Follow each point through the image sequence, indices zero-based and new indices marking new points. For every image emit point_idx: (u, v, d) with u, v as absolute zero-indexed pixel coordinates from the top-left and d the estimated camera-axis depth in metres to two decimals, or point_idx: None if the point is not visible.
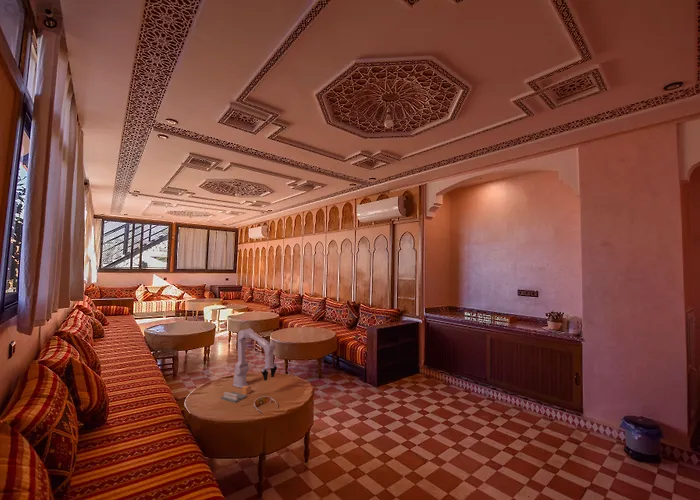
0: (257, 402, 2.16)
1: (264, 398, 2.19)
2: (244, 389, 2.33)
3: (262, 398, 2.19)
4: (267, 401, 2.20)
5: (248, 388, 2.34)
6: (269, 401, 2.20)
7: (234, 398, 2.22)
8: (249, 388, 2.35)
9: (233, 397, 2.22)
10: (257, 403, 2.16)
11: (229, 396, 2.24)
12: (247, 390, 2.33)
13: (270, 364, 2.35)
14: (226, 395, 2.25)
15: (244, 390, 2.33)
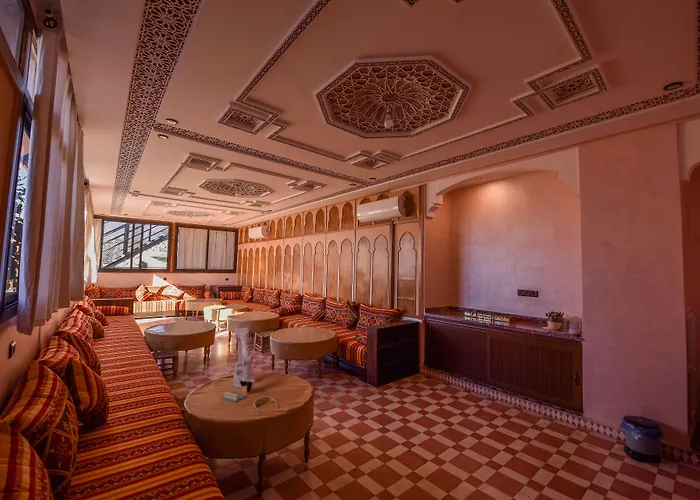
0: (257, 402, 2.16)
1: (264, 398, 2.19)
2: (244, 389, 2.33)
3: (262, 398, 2.18)
4: (267, 401, 2.20)
5: None
6: (269, 401, 2.20)
7: (234, 398, 2.22)
8: None
9: (233, 397, 2.22)
10: (257, 403, 2.16)
11: (229, 396, 2.24)
12: None
13: (242, 376, 2.34)
14: (226, 395, 2.25)
15: (244, 390, 2.33)
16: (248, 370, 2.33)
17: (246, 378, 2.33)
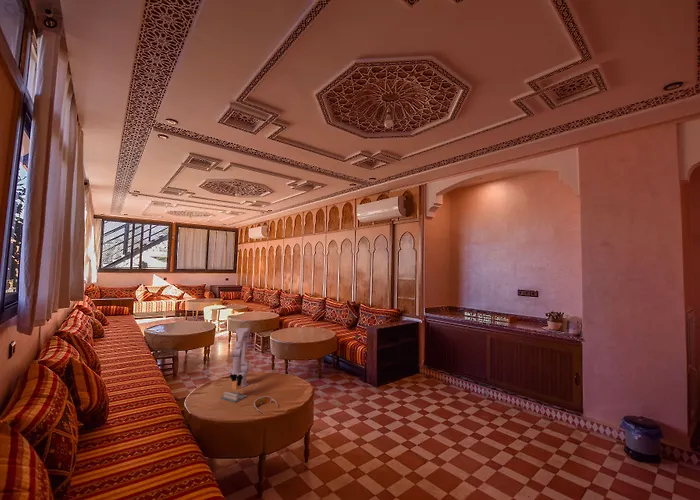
0: (257, 402, 2.16)
1: (264, 398, 2.19)
2: (234, 384, 2.27)
3: (262, 398, 2.18)
4: (267, 401, 2.19)
5: None
6: (269, 401, 2.20)
7: (234, 398, 2.22)
8: None
9: (233, 397, 2.22)
10: (257, 403, 2.16)
11: (229, 396, 2.24)
12: (237, 385, 2.27)
13: None
14: (226, 395, 2.25)
15: (234, 385, 2.27)
16: (237, 363, 2.27)
17: (236, 371, 2.27)
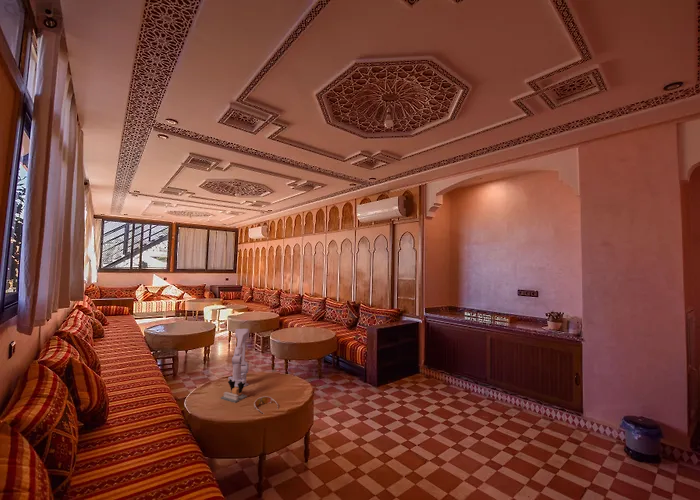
0: (257, 402, 2.15)
1: (264, 398, 2.19)
2: (234, 391, 2.27)
3: (262, 398, 2.18)
4: (267, 401, 2.19)
5: (238, 390, 2.28)
6: (269, 401, 2.19)
7: (234, 398, 2.22)
8: None
9: (233, 397, 2.22)
10: (257, 403, 2.15)
11: (229, 396, 2.24)
12: (237, 392, 2.27)
13: None
14: (226, 395, 2.25)
15: (234, 392, 2.27)
16: (236, 370, 2.27)
17: (236, 378, 2.27)
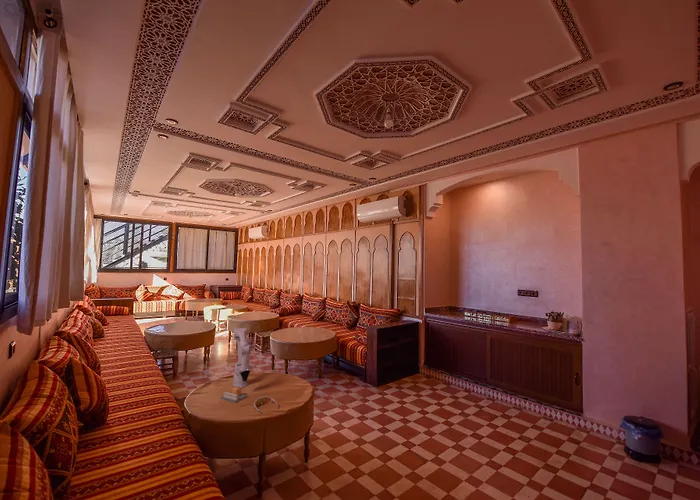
0: (257, 402, 2.15)
1: (264, 398, 2.19)
2: (234, 391, 2.27)
3: (262, 398, 2.18)
4: (267, 401, 2.19)
5: (238, 390, 2.28)
6: (269, 401, 2.19)
7: (234, 398, 2.22)
8: (239, 390, 2.29)
9: (233, 397, 2.22)
10: (257, 403, 2.15)
11: (229, 396, 2.24)
12: (237, 392, 2.27)
13: (246, 366, 2.34)
14: (226, 395, 2.25)
15: (234, 392, 2.27)
16: (246, 360, 2.35)
17: (249, 366, 2.37)
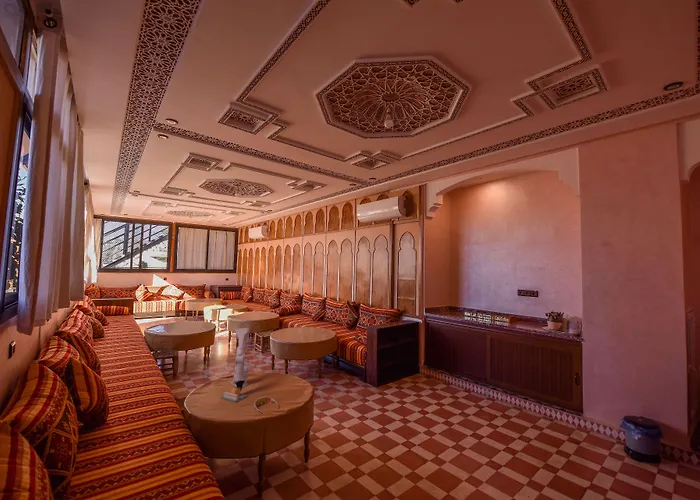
0: (257, 403, 2.15)
1: (264, 398, 2.19)
2: (233, 391, 2.26)
3: (262, 398, 2.18)
4: (267, 401, 2.19)
5: (237, 390, 2.27)
6: (269, 401, 2.19)
7: (234, 398, 2.22)
8: (238, 390, 2.28)
9: (233, 397, 2.22)
10: (257, 404, 2.15)
11: (229, 396, 2.24)
12: (236, 392, 2.26)
13: (240, 376, 2.30)
14: (226, 395, 2.25)
15: (233, 392, 2.26)
16: (240, 370, 2.29)
17: (243, 376, 2.33)
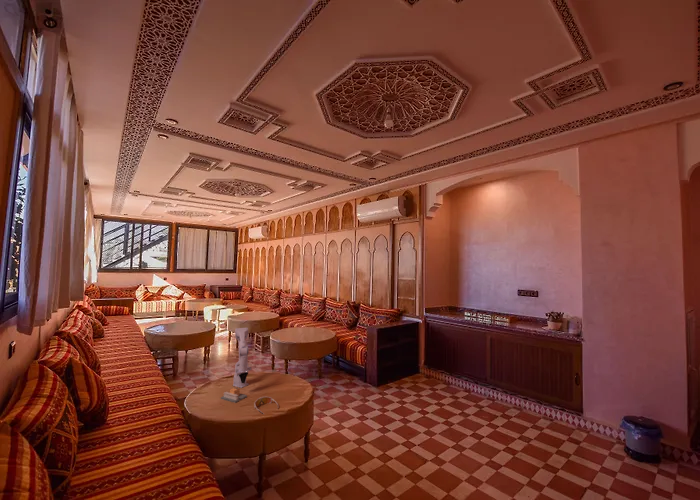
0: (257, 403, 2.15)
1: (264, 398, 2.19)
2: (232, 392, 2.25)
3: (262, 398, 2.18)
4: (267, 401, 2.19)
5: (236, 391, 2.27)
6: (269, 401, 2.19)
7: (234, 398, 2.22)
8: (237, 391, 2.27)
9: (233, 397, 2.22)
10: (257, 404, 2.15)
11: (229, 396, 2.24)
12: (235, 393, 2.26)
13: (244, 368, 2.33)
14: (226, 395, 2.25)
15: (232, 393, 2.25)
16: (244, 362, 2.33)
17: (247, 368, 2.36)
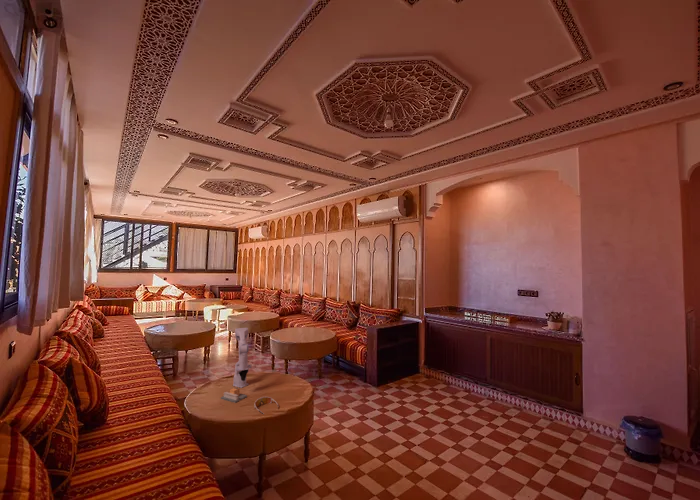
0: (258, 403, 2.15)
1: (265, 399, 2.18)
2: (232, 392, 2.25)
3: (263, 399, 2.18)
4: (268, 402, 2.19)
5: (236, 391, 2.27)
6: (270, 402, 2.19)
7: (234, 398, 2.22)
8: (237, 391, 2.27)
9: (233, 397, 2.22)
10: (258, 404, 2.15)
11: (229, 396, 2.24)
12: (235, 393, 2.26)
13: (244, 366, 2.33)
14: (226, 395, 2.25)
15: (232, 393, 2.25)
16: (244, 359, 2.33)
17: (247, 366, 2.36)
